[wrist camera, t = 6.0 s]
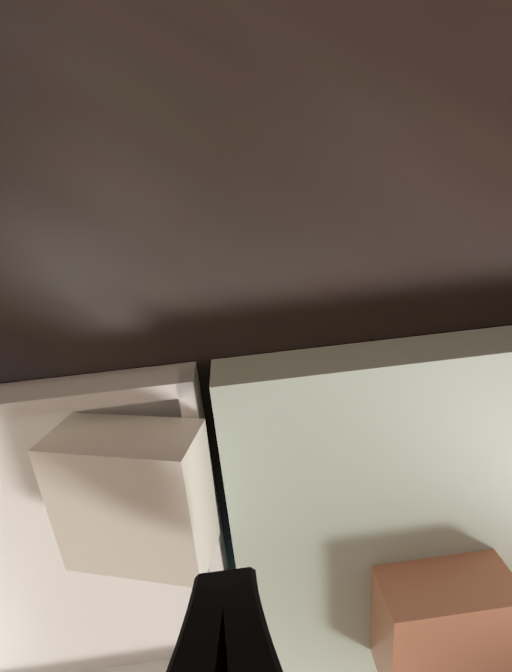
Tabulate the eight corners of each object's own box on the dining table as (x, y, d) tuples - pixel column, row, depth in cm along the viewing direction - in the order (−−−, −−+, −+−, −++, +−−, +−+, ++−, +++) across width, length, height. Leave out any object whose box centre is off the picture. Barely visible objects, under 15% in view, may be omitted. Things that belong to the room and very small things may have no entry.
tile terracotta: (493, 548, 14) (535, 602, 12) (480, 633, 16) (515, 692, 14) (371, 565, 14) (394, 623, 12) (370, 649, 16) (390, 711, 14)
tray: (196, 361, 13) (186, 418, 10) (240, 643, 18) (244, 745, 15) (-134, 398, 13) (-261, 472, 9) (3, 677, 17) (-48, 791, 14)
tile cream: (205, 418, 12) (181, 461, 10) (220, 533, 13) (201, 588, 12) (72, 412, 13) (27, 451, 11) (100, 520, 14) (65, 569, 12)
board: (616, 313, 14) (679, 332, 12) (548, 598, 18) (586, 645, 17) (211, 359, 13) (209, 387, 11) (251, 641, 18) (254, 694, 16)
